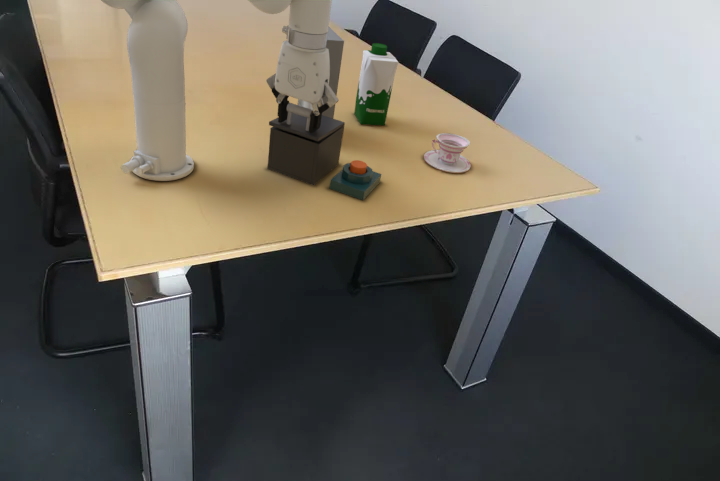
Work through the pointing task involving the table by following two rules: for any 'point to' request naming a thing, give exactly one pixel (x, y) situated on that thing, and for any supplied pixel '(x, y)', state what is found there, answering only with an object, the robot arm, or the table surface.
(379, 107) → the milk carton
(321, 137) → the lid
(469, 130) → the table surface
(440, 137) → the teacup
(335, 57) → the ribbed grey cuboid
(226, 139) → the table surface
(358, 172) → the button
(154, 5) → the robot arm
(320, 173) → the open dark grey box
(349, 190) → the control block
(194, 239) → the table surface
